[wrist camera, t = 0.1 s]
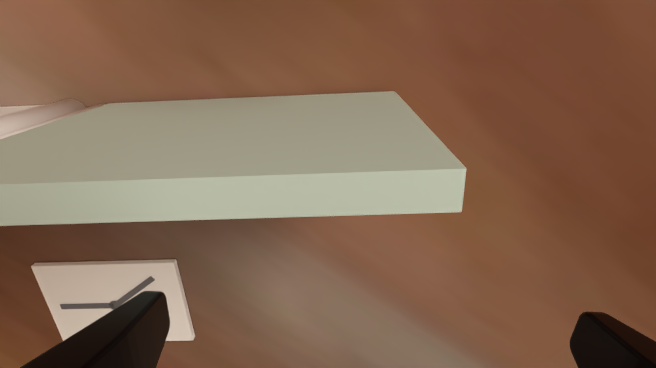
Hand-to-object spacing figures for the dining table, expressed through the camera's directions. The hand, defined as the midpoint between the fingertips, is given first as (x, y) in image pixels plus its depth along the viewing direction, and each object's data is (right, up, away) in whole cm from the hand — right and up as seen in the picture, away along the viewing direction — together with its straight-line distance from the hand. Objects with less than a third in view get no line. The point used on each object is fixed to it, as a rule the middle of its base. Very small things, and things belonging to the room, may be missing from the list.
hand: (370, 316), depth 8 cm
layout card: (-16, -6, +19) cm, 25 cm away
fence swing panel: (-6, +7, +13) cm, 16 cm away
